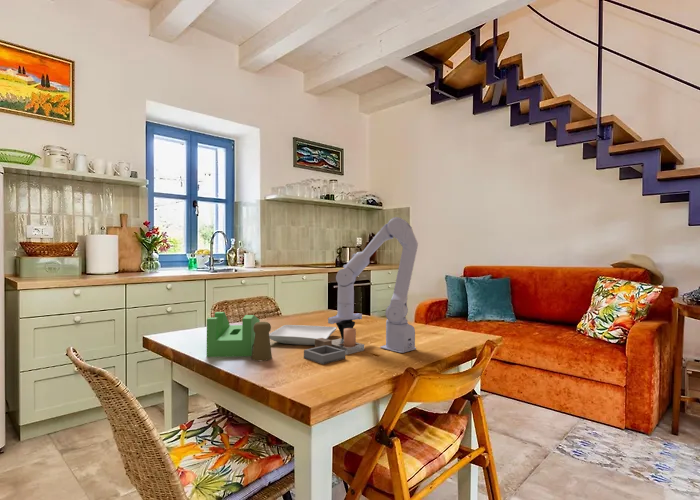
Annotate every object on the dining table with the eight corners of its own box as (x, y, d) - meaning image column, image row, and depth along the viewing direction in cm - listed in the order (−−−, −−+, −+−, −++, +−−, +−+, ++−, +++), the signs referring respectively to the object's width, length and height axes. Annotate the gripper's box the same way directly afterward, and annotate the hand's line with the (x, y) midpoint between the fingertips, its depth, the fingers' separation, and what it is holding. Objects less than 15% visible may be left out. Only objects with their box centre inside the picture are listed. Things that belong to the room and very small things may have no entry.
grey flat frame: (364, 350, 133) (364, 344, 133) (346, 354, 127) (346, 348, 127) (340, 344, 141) (340, 338, 141) (323, 347, 135) (323, 341, 135)
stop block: (331, 351, 131) (331, 340, 131) (324, 352, 129) (324, 341, 129) (321, 348, 135) (321, 337, 135) (314, 349, 133) (314, 339, 133)
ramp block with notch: (250, 357, 124) (251, 318, 124) (206, 358, 123) (206, 319, 123) (259, 339, 148) (259, 307, 148) (222, 340, 147) (222, 307, 147)
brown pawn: (263, 354, 127) (263, 319, 126) (276, 357, 123) (276, 321, 123) (247, 358, 122) (247, 322, 122) (260, 362, 118) (260, 324, 118)
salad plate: (337, 334, 156) (337, 325, 156) (326, 348, 135) (326, 337, 135) (284, 332, 159) (284, 323, 159) (265, 345, 138) (265, 335, 138)
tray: (345, 358, 123) (345, 350, 123) (322, 364, 116) (322, 355, 116) (326, 352, 129) (326, 345, 129) (303, 358, 123) (303, 349, 123)
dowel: (358, 350, 132) (358, 329, 132) (348, 352, 130) (349, 330, 130) (350, 348, 135) (350, 327, 135) (341, 349, 133) (341, 328, 133)
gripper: (352, 300, 148) (352, 336, 148) (322, 303, 138) (321, 343, 138) (366, 302, 143) (365, 340, 143) (336, 306, 133) (335, 346, 133)
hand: (345, 341), depth 140 cm, fingers closed
